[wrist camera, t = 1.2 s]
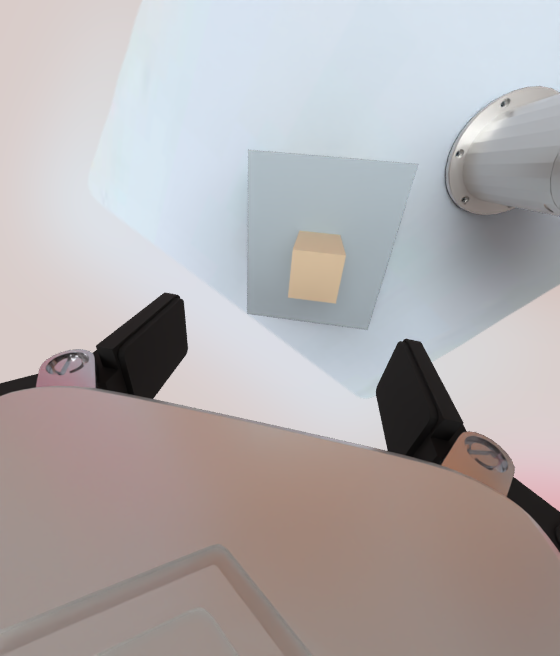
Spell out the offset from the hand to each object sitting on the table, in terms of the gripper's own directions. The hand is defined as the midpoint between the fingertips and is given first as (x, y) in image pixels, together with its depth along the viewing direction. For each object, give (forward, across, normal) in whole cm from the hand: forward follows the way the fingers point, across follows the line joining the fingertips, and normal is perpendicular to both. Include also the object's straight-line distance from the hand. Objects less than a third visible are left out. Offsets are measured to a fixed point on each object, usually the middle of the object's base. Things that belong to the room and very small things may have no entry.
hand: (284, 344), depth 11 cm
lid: (+20, -1, +1) cm, 20 cm away
